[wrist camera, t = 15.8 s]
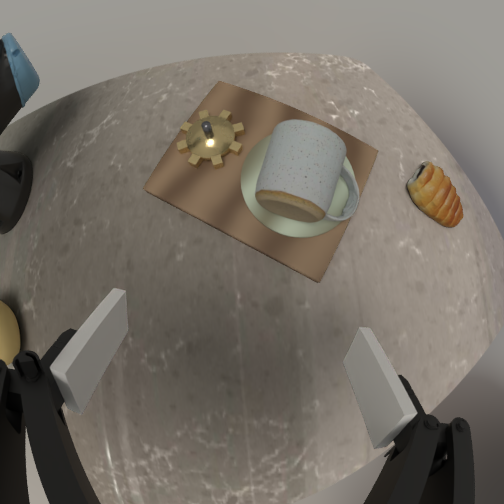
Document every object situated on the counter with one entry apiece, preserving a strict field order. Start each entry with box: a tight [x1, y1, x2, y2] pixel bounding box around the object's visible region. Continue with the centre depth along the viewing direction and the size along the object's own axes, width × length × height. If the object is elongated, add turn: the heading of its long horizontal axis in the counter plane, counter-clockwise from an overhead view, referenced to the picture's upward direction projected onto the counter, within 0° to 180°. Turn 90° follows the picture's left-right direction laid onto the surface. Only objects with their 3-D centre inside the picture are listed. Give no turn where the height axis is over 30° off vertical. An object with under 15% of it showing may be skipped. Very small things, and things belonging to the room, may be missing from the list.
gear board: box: [143, 81, 378, 283], centre depth 30 cm, size 23×18×2 cm
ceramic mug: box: [255, 119, 359, 223], centre depth 25 cm, size 11×8×8 cm
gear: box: [177, 110, 245, 169], centre depth 29 cm, size 8×8×4 cm
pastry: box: [407, 161, 463, 227], centre depth 28 cm, size 9×7×4 cm
